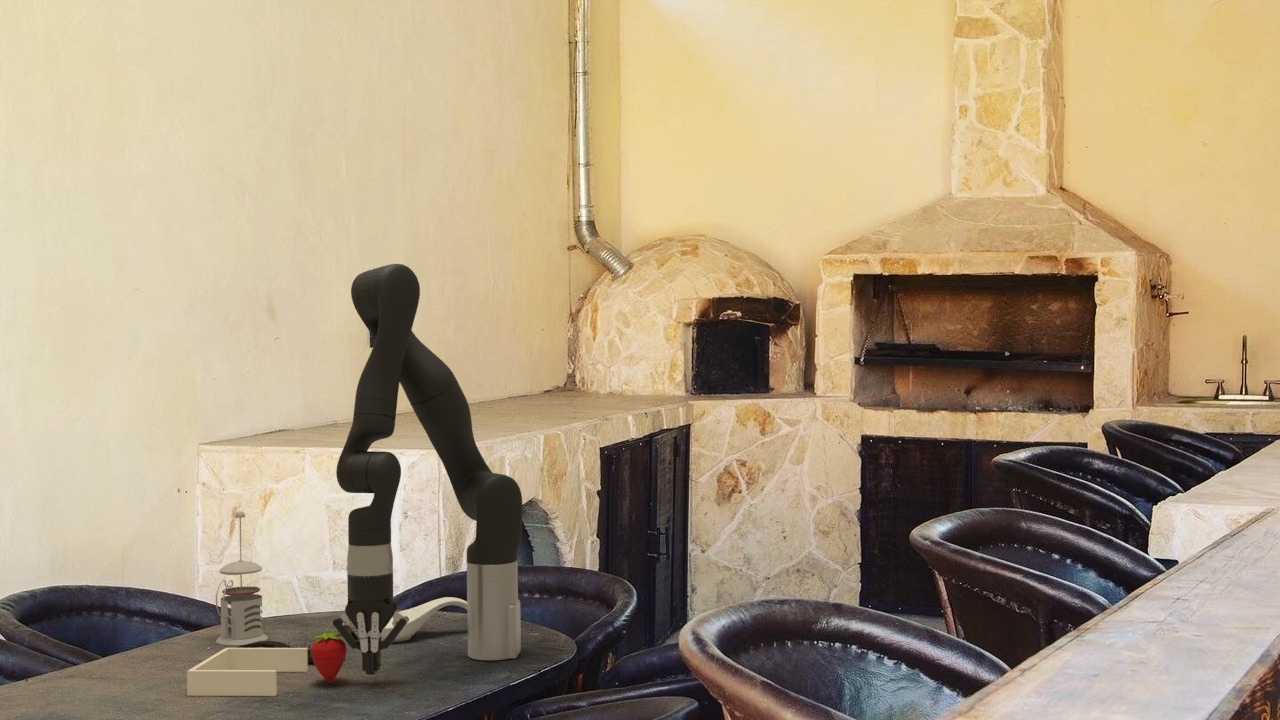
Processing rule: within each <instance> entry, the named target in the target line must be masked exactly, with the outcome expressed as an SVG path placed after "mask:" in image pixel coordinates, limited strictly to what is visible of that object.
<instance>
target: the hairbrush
mask: <svg viewBox="0 0 1280 720" xmlns="http://www.w3.org/2000/svg"><path fill="white" fill-rule="evenodd" d="M289 644H290V641H288V642H287V644H286V642H281V641H275V640H274V641H273V640H265V641H258V642H254V643H249V644H245V645H236V648H298V645H295V646H296V647H295V646H291V645H289ZM306 646H307V644H306V643H304V644H303V643H302V642H300V647H299V648H307V647H306ZM311 647H312V646H311V645H310V644H308V663H311V662H313V660H312V657H311Z"/></svg>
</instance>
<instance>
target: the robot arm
mask: <svg viewBox="0 0 1280 720" xmlns="http://www.w3.org/2000/svg"><path fill="white" fill-rule="evenodd" d="M350 295H351V300H352V304H353V306H354V309H355V310H356V313H357V315H358V316H359V317H360V319H361V321H362V322H363V324H364V325H365V327H366V328H367V330H368V331H369V333H370V334H371V336H372V338H373V339H374V343H373V346H372V349H371V352H370V353H369V357H368V359H367V361H366V363H365V365H364V368H363V370H362V372H361V374H360V376H359V380H358V382H357V386H356V390H355V391H356V392H355V397H354V407H353V416H352V425H351V427H350V430H349V432H348V434H347V435H348V436H347V437H346V438H347V439H346V441H345V442H344V443H345V444H344V446H343V448H342V451H341V452H340V455H339V458H338V461H337V465H336V481H337V483H338V485H339V488H341V489H342V490H343V491H344V492H346V493H349V494H373V498H372V501H371V503H370V504H369V505H366V506H362V507H357V508H355V509H352V510H351V511H350V512H349V513H348V518H347V522H348V523H347V524H348V525H347V527H348V534H347V536H348V547H347V548H348V549H347V556H346V562H347V563H346V572H347V574H346V577H347V579H346V581H347V585H346V586H347V604H346V606H345V608H344V613H341V615H340V616H337V617H336V618H335V619H334V620H333V621H332V625H333V627H334V628H335V630H337V632H338V634H341V635H342V636H341V637H342V638H343V639H344V640H345V641H346V642H345V643H347V644H348V645H349V647H350V648H351V649H353V650H358V651H360V652H361V668H362V670H363V672H365V674H366V675H376V674H377V673H378V672H379V670H380V669H381V668H382V650H384V649H388V648H389V647H390V646H391V645H392V644H393V643H394V642H393V641H394V640H395V638H396V637H397V636H398V635H399V633H400V632H401V631H402V629H403V628H404V627H405V625H406V624H407V623H408V621H409V618H408V617H407V616H404V617H403V616H402V615H401V614H400V613H398V612H399V611H397V605H396V604H395V602H394V601H395V600H394V558H393V557H394V556H393V548H392V526H391V525H392V515H393V510H394V505H395V501H396V497H397V493H398V489H399V485H400V482H401V477H402V467H401V463H400V461H399V459H398V458H397V456H396V455H395V454H394V453H392V452H390V451H377V450H376V451H375V450H374V451H373V450H372V451H368V450H369V449H370V447H371V446H372V444H373V443H375V442H377V441H380V440H384V439H388V438H390V437H391V436H393V435H394V432H395V425H396V417H397V408H398V398H399V397H398V396H399V388H400V386H401V387H402V390H403V391H404V394H405V395H406V397H407V400H408V402H409V404H410V406H411V407H412V410H413V411H414V414H415V416H416V417H417V420H418V421H419V423H420V425H421V426H422V428H423V429H424V431H425V433H426V435H427V437H428V440H429V441H430V443H431V444H432V446H433V448H434V450H435V452H436V454H437V456H438V458H439V459H440V461H441V462H442V465H443V467H444V469H445V472H446V474H447V476H448V479H449V482H450V484H451V487H452V489H453V492H454V495H455V497H456V500H457V502H458V504H459V506H460V508H461V510H462V512H463V513H464V514H465V516H467V517H468V518H470V519H471V520H473V521H475V522H476V523H475V525H476V527H475V528H476V529H475V539H474V541H473V542H472V543H470V544H469V545H468V546H467V548H466V596H467V597H466V602H467V610H466V612H467V615H466V616H467V656H468V657H469V658H470V659H473V660H477V661H478V660H479V661H501V660H502V661H503V660H508V659H517V657H518V655H519V654H520V653H521V652H522V637H521V636H522V634H521V633H522V631H521V629H522V628H521V626H522V625H521V621H522V620H521V600H520V599H519V589H518V587H519V585H518V584H519V580H518V579H519V577H518V573H519V572H518V571H519V569H518V567H519V565H518V553H519V549H520V546H521V543H522V538H523V537H522V535H523V496H522V491H521V488H520V486H519V484H518V483H517V481H516V480H515V479H514V478H513V477H511V476H509V475H507V474H503V473H502V474H501V473H496V472H493V471H492V470H491V468H490V467H489V466H488V463H486V461H485V459H484V458H483V456H482V453H481V452H480V450H479V448H478V446H477V444H476V440H475V437H474V432H473V431H474V430H473V424H472V423H473V422H472V415H471V414H472V413H471V409H470V405H469V403H468V400H467V398H466V395H465V394H464V392H463V390H462V388H461V385H460V384H459V381H458V379H457V378H456V376H455V374H454V372H453V371H452V370H451V368H450V367H449V366H448V365H447V364H446V363H445V362H444V361H443V359H441V358H440V357H439V356H438V355H436V354H435V353H434V352H433V351H432V350H431V349H430V348H428V347H427V346H426V345H425V344H424V343H423V342H422V341H421V340H420V339H419V337H417V336H416V334H415V333H414V332H413V330H412V329H413V325H414V323H415V318H416V315H417V313H418V312H417V311H418V307H419V302H420V298H421V297H420V295H421V287H420V282H419V278H418V277H417V275H416V274H415V272H414V271H413V270H412V269H411V268H410V267H409V266H407V265H405V264H401V263H390V264H388V265H383V266H380V267H376V268H375V267H374V268H372V269H369V270H366V271H363V272H361V273H359V274H357V275H356V277H354V280H352V284H351V289H350ZM392 617H393V622H392V625H393V626H394V628H393V629H392V631H391V632H390V633H389V634H388V636H387V637H386V638H385V640H383V641H382V635H383V629H384V628H385V627H386V626H387V624H388V623H389V621H390V620H391V618H392ZM351 623H352V625H353V626H354V628H356V630H358V634H357V633H356V632H355V631H354V630H353V628H352V627H351V626H350V624H351Z"/></svg>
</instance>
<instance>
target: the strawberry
mask: <svg viewBox="0 0 1280 720" xmlns="http://www.w3.org/2000/svg"><path fill="white" fill-rule="evenodd" d="M331 625H333V622H332V623H330V624H329V626H328V627H327V629H326V631H325V632H324V633H323V634H319V635H315V636H314V637H312V639H313V640H314V639H315V640H316V639H318V640H316V641H314V642H313V643H312V644H311V646H310V647H311V657H312V660H313V661H312V662H313V665H314V667H315V668H316V670H317V671H318V672H319V674H320V675H321V676H322V677H323V679H324V680H325V681H326V683H328V684H332V683H333V682H335V679H336V677H337V675H338V674H339V672H341V669H342V667H343V665H344V664H345V661H346V655H347V650H348V649H347V645H346V642H345V641H344V640H343V639H342V638H339V637H343V636H342V635H341V634H340V633H336V632H328V629H329V628H330V627H331Z"/></svg>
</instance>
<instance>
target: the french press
mask: <svg viewBox="0 0 1280 720" xmlns="http://www.w3.org/2000/svg"><path fill="white" fill-rule="evenodd" d="M234 518H236V519H239V557H240V558H239V559H240V560H237V561H234V562H230V563H228V564H225V565H224V566H222V568H220V569H219V570H218V572H219V573H220V574H221V575H225V576H238V575H240V586H234V581H233V579H230V580H229V581H228V582H226V579H222V580H221V582H220V583H219V585H218V586H217V590H216V594H215V608H216V610H217V613H218V615H219V616H220V632H221V633H220V636H219V637H217V639H216V641H215V643H216V644H218V645H222V646H223V645H224V646H241V645H245V644H249V643H254V642H258V641H267V640H268V638H269V637H268V635H267V634H265V632H264V631H263V629H262V628H261V627H263V625H264V624H263V623H262V622H261V621H263V617H262V615H263V610H262V609H261V608H263V595H260V594H258V593H259V592H260V591H261V588H260V587H259V586H254V585H253V586H249V585H246V586H244V585H243V582H242V581H243V577H242V575H247V574H255V573H259V572H261V571H262V570H263V567H262V566H261V565H260V564H258V563H256V562H253V561H245V560H243V559H242V518H246V513H245V512H244V511H237V512H235V515H234ZM223 583H224V586H225V588H224V589H223V590H222V591H221V592H222V594H223V596H222V597H221V598H220V610H219V607H218V593H219V590H220V587H221V586H222V584H223ZM230 583H231V585H229V584H230ZM256 593H257V594H256ZM229 605H230V607H229ZM228 612H230V613H228ZM261 614H262V615H261ZM229 619H230V620H229ZM229 625H230V626H231V627H230V626H229Z"/></svg>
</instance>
